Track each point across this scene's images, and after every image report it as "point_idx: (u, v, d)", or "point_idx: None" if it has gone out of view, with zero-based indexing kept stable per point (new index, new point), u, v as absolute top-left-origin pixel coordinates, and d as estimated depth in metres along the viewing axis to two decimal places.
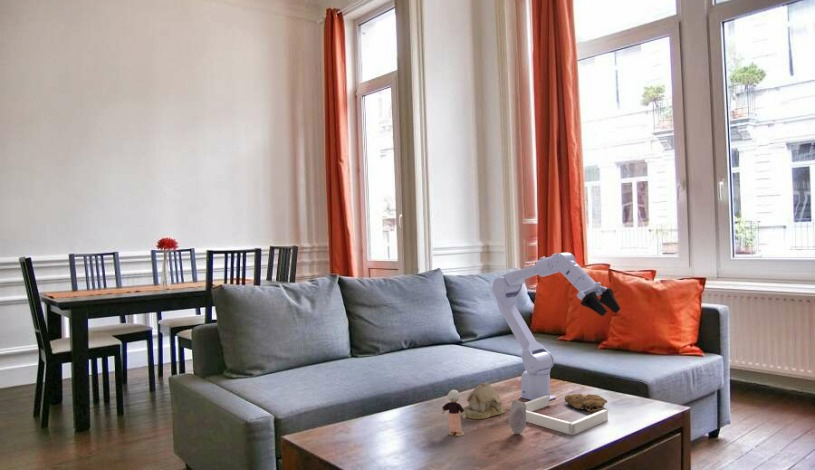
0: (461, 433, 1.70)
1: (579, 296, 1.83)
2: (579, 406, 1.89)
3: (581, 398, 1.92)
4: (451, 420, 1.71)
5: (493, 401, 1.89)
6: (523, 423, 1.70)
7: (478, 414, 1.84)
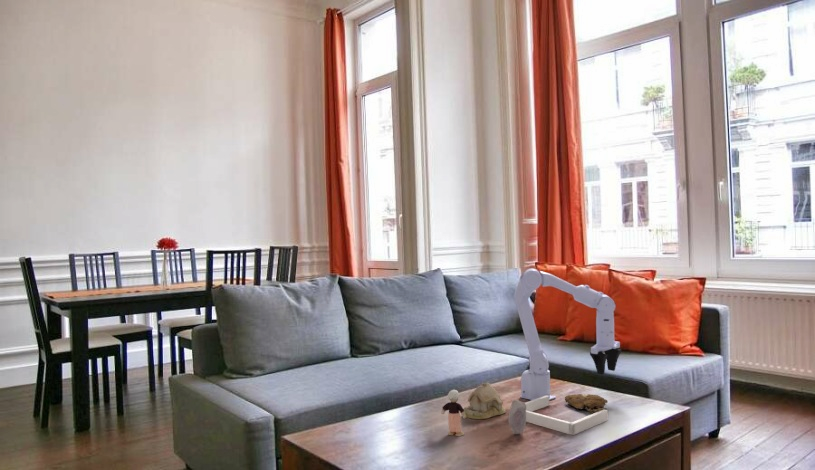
0: (461, 433, 1.70)
1: (592, 350, 1.95)
2: (580, 406, 1.89)
3: (581, 398, 1.92)
4: (451, 420, 1.71)
5: (494, 401, 1.89)
6: (523, 423, 1.70)
7: (479, 414, 1.84)
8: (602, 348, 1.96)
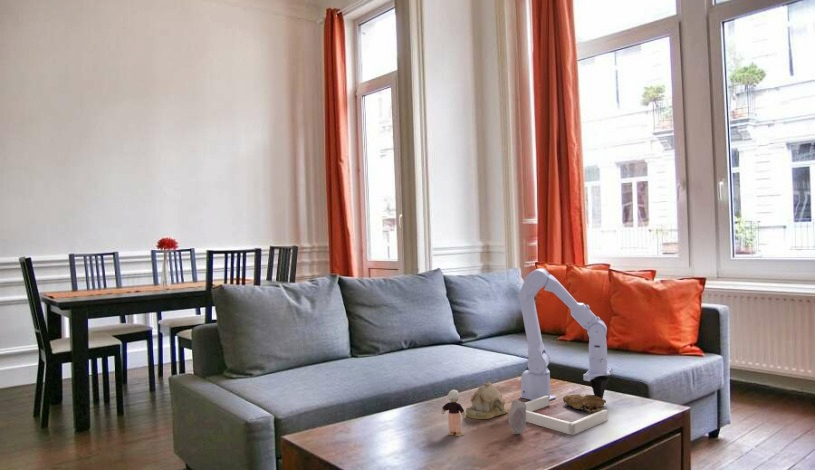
0: (461, 433, 1.70)
1: (585, 377, 1.93)
2: (578, 407, 1.88)
3: (580, 398, 1.92)
4: (451, 420, 1.71)
5: (496, 401, 1.89)
6: (523, 423, 1.70)
7: (483, 414, 1.84)
8: (595, 375, 1.93)
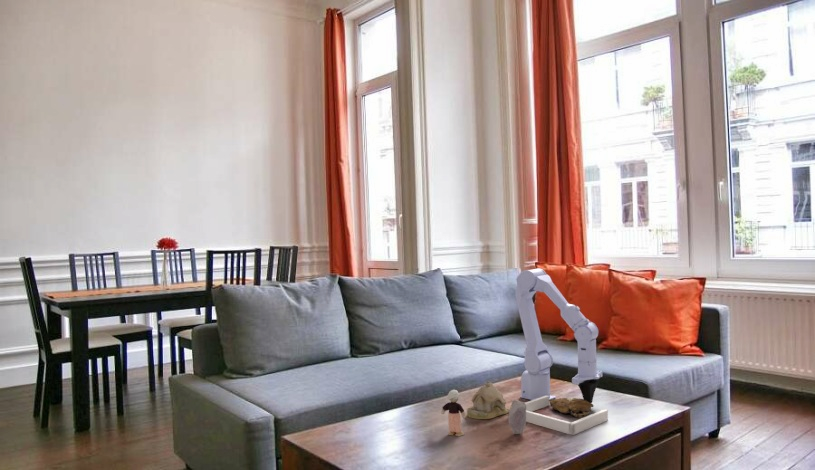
0: (461, 433, 1.70)
1: (573, 381, 1.88)
2: (565, 410, 1.85)
3: (567, 402, 1.88)
4: (451, 420, 1.71)
5: (497, 401, 1.89)
6: (523, 423, 1.70)
7: (484, 414, 1.83)
8: (583, 379, 1.89)
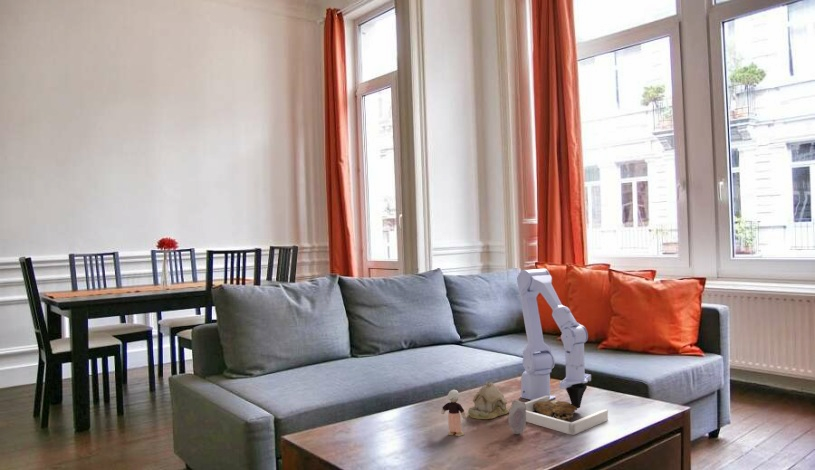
0: (461, 433, 1.70)
1: (560, 385, 1.84)
2: (548, 414, 1.82)
3: (550, 405, 1.86)
4: (451, 420, 1.71)
5: (498, 401, 1.89)
6: (523, 423, 1.70)
7: (486, 414, 1.83)
8: (571, 383, 1.84)
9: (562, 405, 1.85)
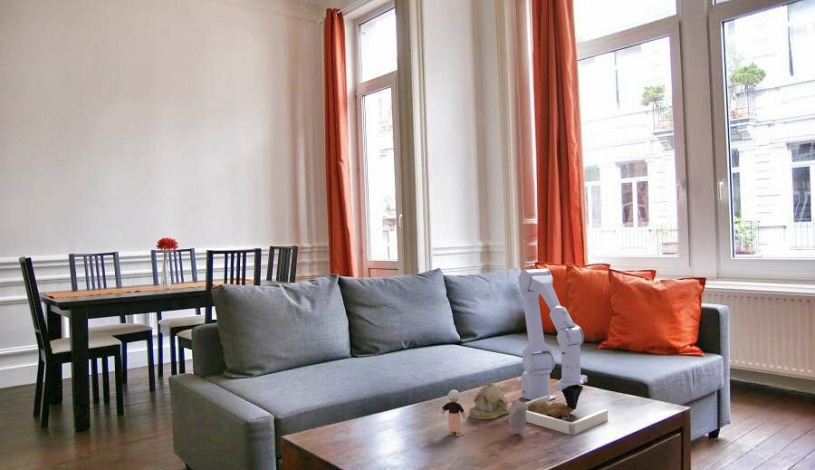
0: (461, 433, 1.70)
1: (556, 387, 1.83)
2: None
3: (546, 407, 1.84)
4: (451, 420, 1.71)
5: (499, 401, 1.89)
6: (523, 423, 1.70)
7: (487, 414, 1.83)
8: (567, 384, 1.83)
9: (558, 407, 1.84)
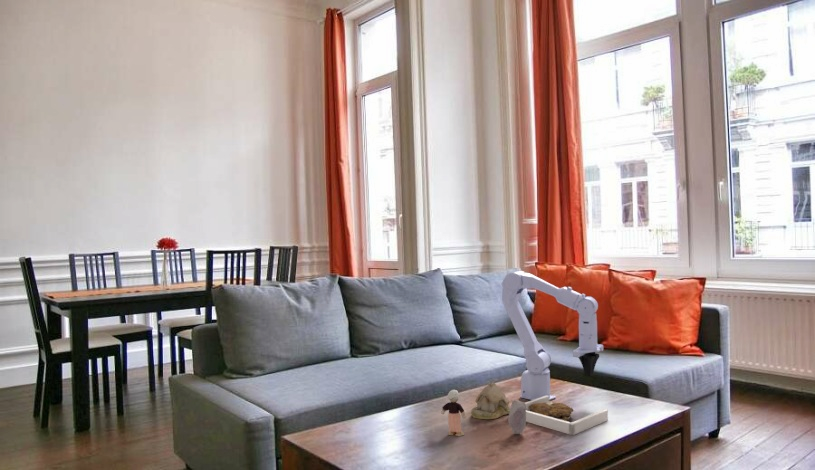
0: (461, 433, 1.70)
1: (574, 354, 1.92)
2: None
3: (547, 407, 1.84)
4: (451, 420, 1.71)
5: (501, 401, 1.89)
6: (523, 423, 1.70)
7: (489, 414, 1.83)
8: (584, 351, 1.92)
9: (558, 407, 1.84)
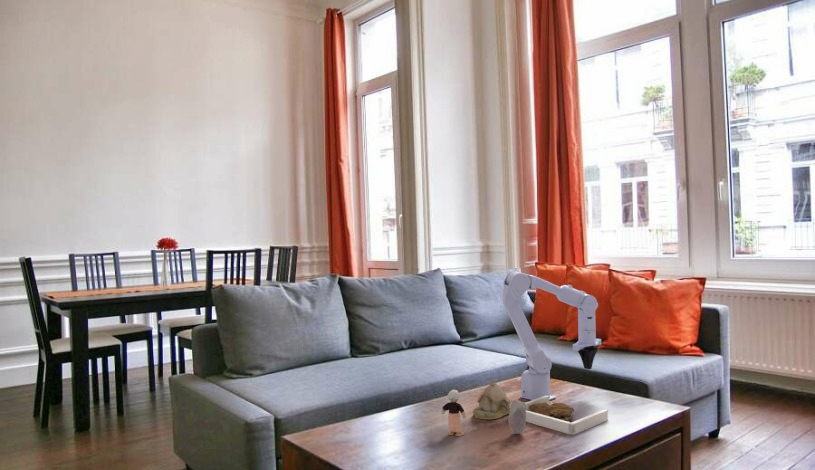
0: (461, 433, 1.70)
1: (574, 347, 2.01)
2: None
3: (547, 407, 1.84)
4: (451, 420, 1.71)
5: (502, 401, 1.89)
6: (523, 423, 1.70)
7: (491, 414, 1.83)
8: (583, 345, 2.01)
9: (559, 407, 1.84)
